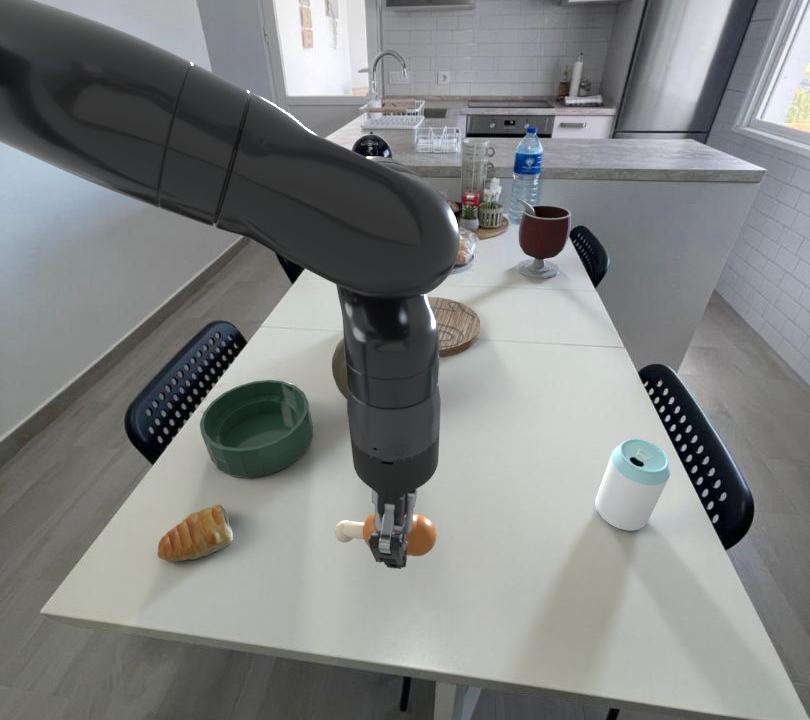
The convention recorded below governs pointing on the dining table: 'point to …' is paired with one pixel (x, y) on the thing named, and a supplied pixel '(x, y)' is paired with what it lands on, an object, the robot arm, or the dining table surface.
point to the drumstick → (418, 538)
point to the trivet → (454, 325)
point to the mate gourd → (542, 238)
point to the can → (632, 484)
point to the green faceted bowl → (257, 428)
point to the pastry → (197, 535)
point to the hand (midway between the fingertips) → (398, 542)
